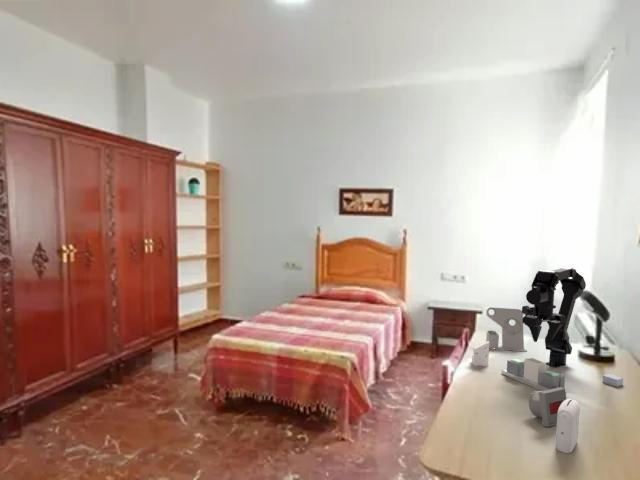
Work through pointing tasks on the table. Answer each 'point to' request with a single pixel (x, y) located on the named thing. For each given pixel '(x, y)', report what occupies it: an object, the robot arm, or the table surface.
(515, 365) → the rail
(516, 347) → the grey bracket with hole
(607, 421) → the table surface
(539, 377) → the block
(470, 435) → the table surface
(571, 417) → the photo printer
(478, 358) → the white angled block
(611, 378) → the relay block
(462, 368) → the table surface
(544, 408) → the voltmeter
